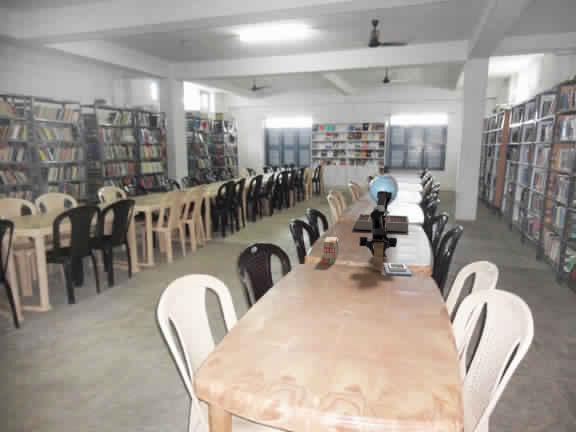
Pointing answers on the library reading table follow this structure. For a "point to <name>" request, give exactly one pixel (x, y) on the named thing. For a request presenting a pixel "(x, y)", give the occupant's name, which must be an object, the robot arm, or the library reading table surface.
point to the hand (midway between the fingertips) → (378, 256)
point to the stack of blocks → (330, 249)
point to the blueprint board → (397, 269)
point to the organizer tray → (391, 222)
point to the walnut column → (378, 255)
